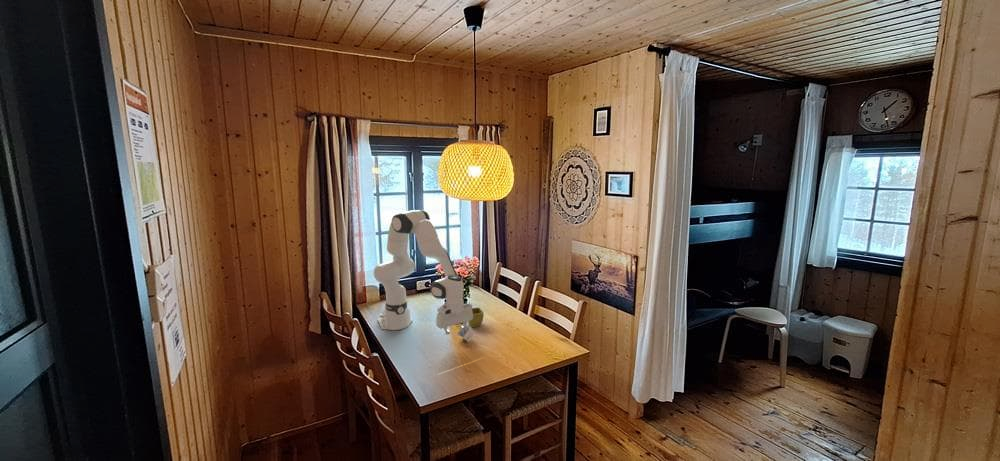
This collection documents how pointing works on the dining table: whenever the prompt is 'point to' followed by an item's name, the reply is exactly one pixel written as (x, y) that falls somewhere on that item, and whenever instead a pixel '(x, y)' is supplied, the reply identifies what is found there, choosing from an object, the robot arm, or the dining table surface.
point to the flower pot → (476, 317)
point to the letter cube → (466, 334)
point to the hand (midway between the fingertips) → (455, 331)
